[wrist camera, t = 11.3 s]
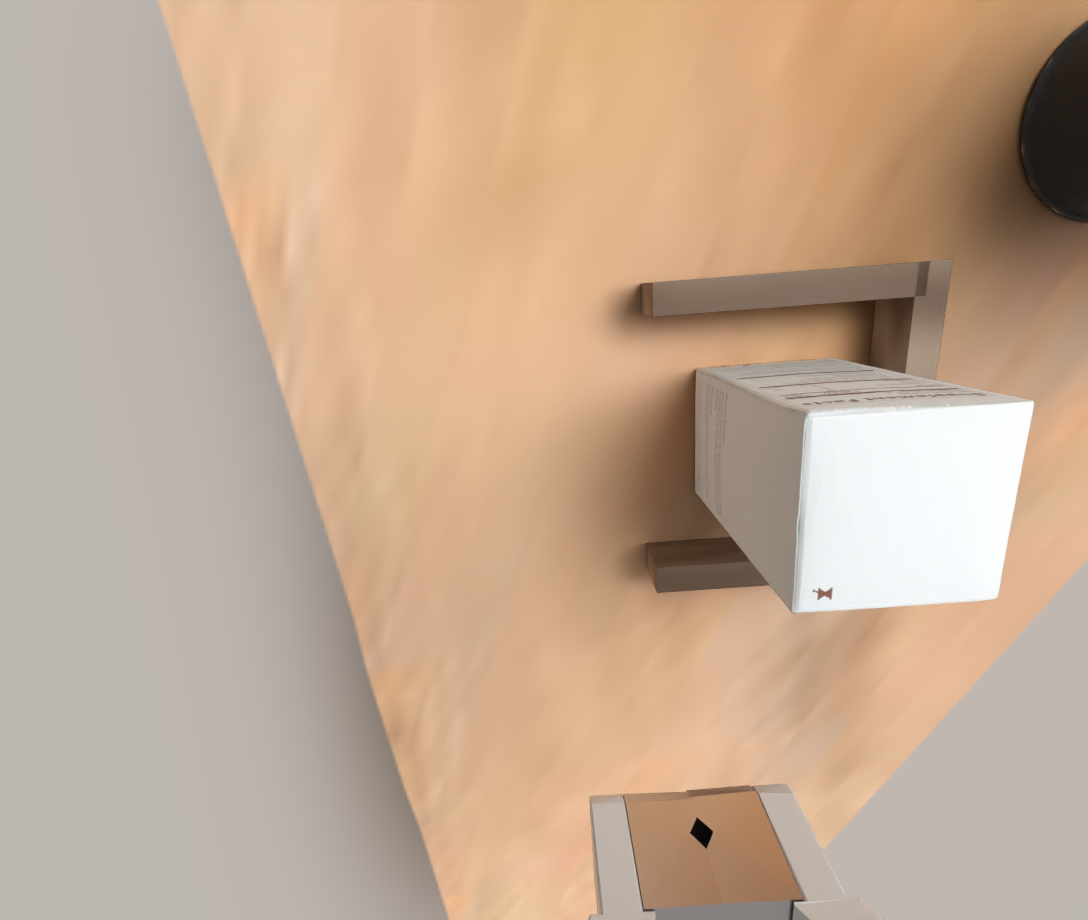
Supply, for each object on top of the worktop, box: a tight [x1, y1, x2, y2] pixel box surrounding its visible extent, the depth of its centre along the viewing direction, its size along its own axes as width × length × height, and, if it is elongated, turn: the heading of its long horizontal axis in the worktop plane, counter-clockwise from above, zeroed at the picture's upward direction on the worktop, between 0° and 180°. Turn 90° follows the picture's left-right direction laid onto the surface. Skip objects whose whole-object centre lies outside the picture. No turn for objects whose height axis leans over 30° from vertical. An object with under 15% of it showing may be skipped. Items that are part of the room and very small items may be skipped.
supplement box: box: [695, 358, 1034, 614], centre depth 24 cm, size 7×7×13 cm
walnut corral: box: [641, 259, 953, 593], centre depth 28 cm, size 16×14×3 cm
